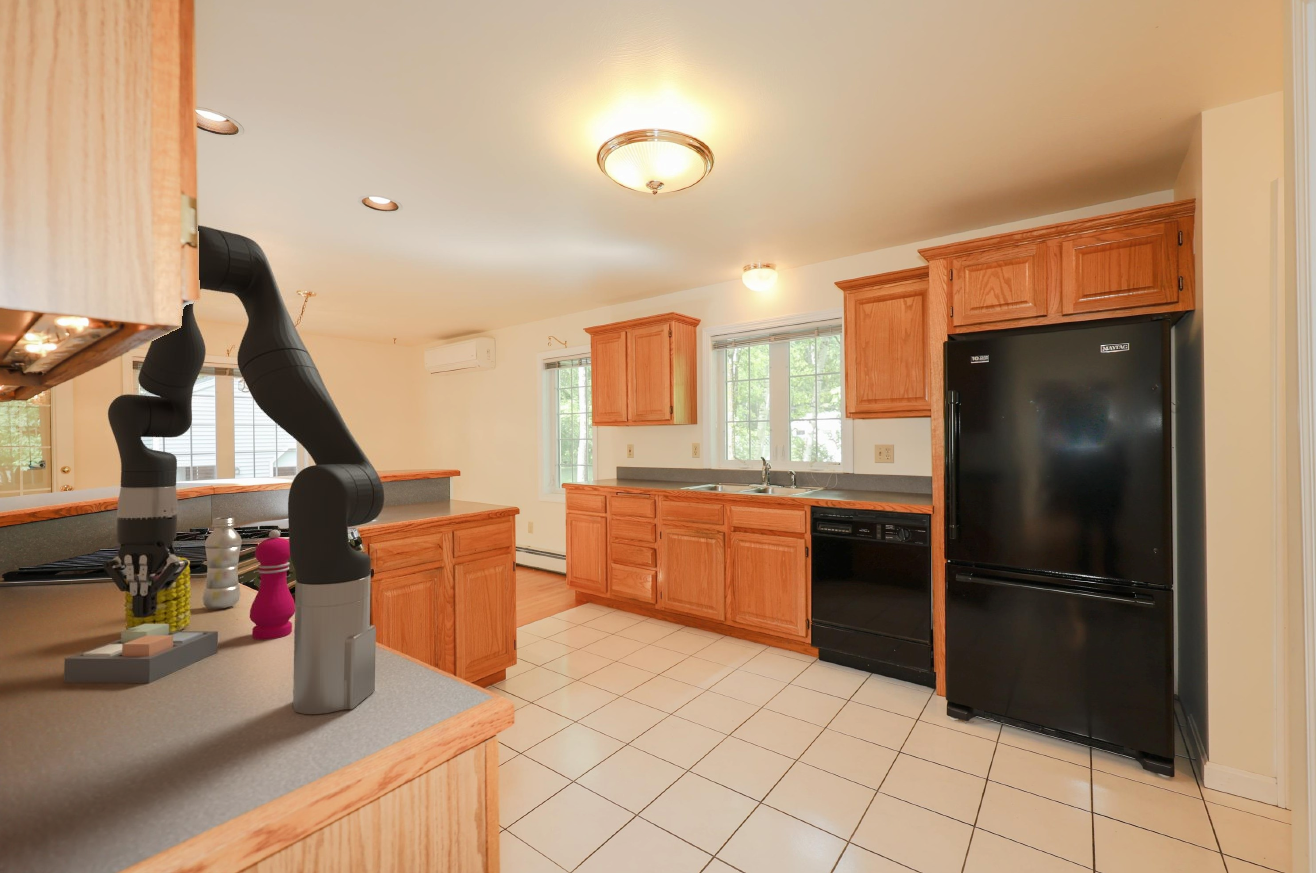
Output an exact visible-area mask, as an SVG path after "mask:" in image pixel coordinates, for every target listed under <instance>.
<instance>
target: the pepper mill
mask: <svg viewBox="0 0 1316 873" xmlns="http://www.w3.org/2000/svg"><path fill="white" fill-rule="evenodd" d="M268 537H269V538H267V539H263V540H262V541H261V542H259V543H258V545H257V546H256V548H255V551H254V557H255V559H256V561H258V562H259V563H260V564H258V565H257V567H258V570H257V573H258V574H260V575H259V576H260V582H259V587H258V591H257V592H256V593H257V594H256V595H255V597H254V599H253V602H252V603H251V607H250V610H249V619H250V621H251V622H252V623H254V625H255V626H253V628H252V629H251V630H252V632H251V638H253V640H259V641H265V640H266V641H267V640H274V639H278V638H282V637H287V636H288V635H290V634H291V633H292V632H293V622H292V621H290V619H291V618H292V617H293V616H295V598H293V596H292V594H291V592H290V589H289V587H288V583H287V580H288V579H287V572H288V570H290V566H289V565H290V564H291V563H290V562H289V561H288V560H289V559H291V557H290V549H289V539H286V538H283V537H281V531H279V530H278V529H272V530H270V532H269V533H268Z"/></svg>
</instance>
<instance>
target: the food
mask: <svg viewBox="0 0 1316 873" xmlns="http://www.w3.org/2000/svg"><path fill="white" fill-rule="evenodd" d="M177 557H178V558H179V559H180V560H181V561H182V560H187V561H188V566H187V567H186V568H185V569H184V571H183V572H182V573H181V574H180V575H179V577H178V578H177V579H176V580H175V582H174V583H173V584H172V585H171V586H170V588H168V589H164V590H161V591H159V592H158V593H157V605H156V606H157V607H156V611H155V612H154V614H153V615H152V616H149V617H146V618H135V617H134V614H133V612H132V608H133V607H132V601H133V596H132V595H131V594H130V593H129V592H127V591H124V592H125V596H124V600H125V602H124V605H123V606H124V607H125V610H124V611H125V622H126V625H125V626H124V627H125V630H127V629H131V628H134V627H137V626H140V625H143V624H169V631H182V630H183V629H185V628H187V627H189V626H190V622H191V616H192V614H191V612H192V611H191V610H190V609H191V605H190V603H191V600H192V599H191V598H190V597H191V596H192V593H191V589H192V587H191V584H192V583H191V581H190V580H191V575H190V574H191V570H190V569H191V568H190V564H191V561H190V560H189V559H188V558H186V557H180V556H177ZM137 575H139V574H137ZM125 581H126V580H125ZM126 582H127V581H126ZM151 582H152V581H151ZM127 583H128V582H127ZM139 583H140V584H141V582H140V581H139ZM150 586H151V585H150Z"/></svg>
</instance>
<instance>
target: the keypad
mask: <svg viewBox="0 0 1316 873" xmlns="http://www.w3.org/2000/svg"><path fill="white" fill-rule="evenodd" d="M179 632H199V633H203V635H202V636H199V637H197V638H194V639H192V640H189V641H187V642H184V643H173V647H172V648H169V649H167V650H164V651H162V652H159V653H157V654H154V655H152V656H122V652H121V653H118V654H115V655H113V656H83V653H86V652H89V651H92V650H95V649H98V648H101V647H103V646H106V645H109V644H124V643H121V638H120V639H117V640H114V641H111V642H108V643H105V644H102V645H100V646H96V647H93V648H91V649H88V650H86V651H83V652H79V653H76V654H74V655H70V656H67V657H65V658H64V663H63V664H64V665H63V666H64V668H63V669H64V670H63V683H74V684H75V683H77V684H78V683H82V684H83V683H85V684H87V683H89V684H90V683H91V684H94V683H97V684H98V683H102V684H106V683H107V684H108V683H109V684H112V683H113V684H150V683H152V682H155V681H157V680H159V679H161V678H164V677H166V676H168V675H170V674H172V673H174V672H176V671H179V670H181V669H184V668H185V667H188V666H191V665H192V664H195V663H197V662H199V661H201V660H203V659H206V658H208V657H210V656H212V655H214V654H216V653H218V650H219V649H218V647H219V646H218V644H219V642H218V640H219V638H218V637H219V631H217V630H216V631H215V630H214V631H212V630H208V631H205V630H200V631H198V630H197V631H196V630H195V631H193V630H191V631H190V630H188V631H187V630H185V631H183V630H180V631H169V635H174V634H176V633H179Z"/></svg>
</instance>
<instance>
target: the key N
mask: <svg viewBox="0 0 1316 873" xmlns="http://www.w3.org/2000/svg"><path fill="white" fill-rule="evenodd" d="M121 652H122V644H109V645H106V646H103V647H101V648H98V649H95V650H92V651H89V652H86V653H83V656H113V655H115V654H118V653H121Z"/></svg>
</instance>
